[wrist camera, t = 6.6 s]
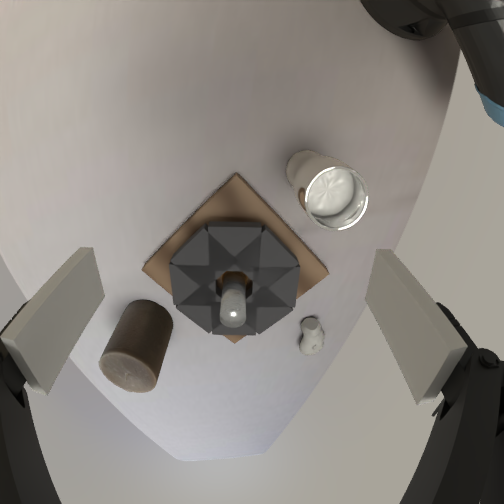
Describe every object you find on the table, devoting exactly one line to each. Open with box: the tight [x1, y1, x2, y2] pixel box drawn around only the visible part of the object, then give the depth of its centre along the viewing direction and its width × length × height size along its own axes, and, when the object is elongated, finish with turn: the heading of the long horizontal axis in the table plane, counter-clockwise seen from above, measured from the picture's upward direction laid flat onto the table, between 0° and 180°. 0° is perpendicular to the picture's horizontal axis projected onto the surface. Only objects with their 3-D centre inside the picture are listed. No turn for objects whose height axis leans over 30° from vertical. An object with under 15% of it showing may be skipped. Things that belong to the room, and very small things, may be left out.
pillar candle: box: [99, 300, 173, 393], centre depth 45 cm, size 10×10×15 cm
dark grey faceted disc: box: [169, 221, 300, 335], centre depth 42 cm, size 18×18×2 cm
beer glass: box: [286, 150, 369, 231], centre depth 34 cm, size 7×7×15 cm
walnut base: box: [142, 173, 329, 344], centre depth 46 cm, size 21×21×2 cm
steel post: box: [220, 271, 247, 328], centre depth 40 cm, size 4×4×11 cm
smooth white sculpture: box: [299, 318, 325, 355], centre depth 52 cm, size 4×8×5 cm
